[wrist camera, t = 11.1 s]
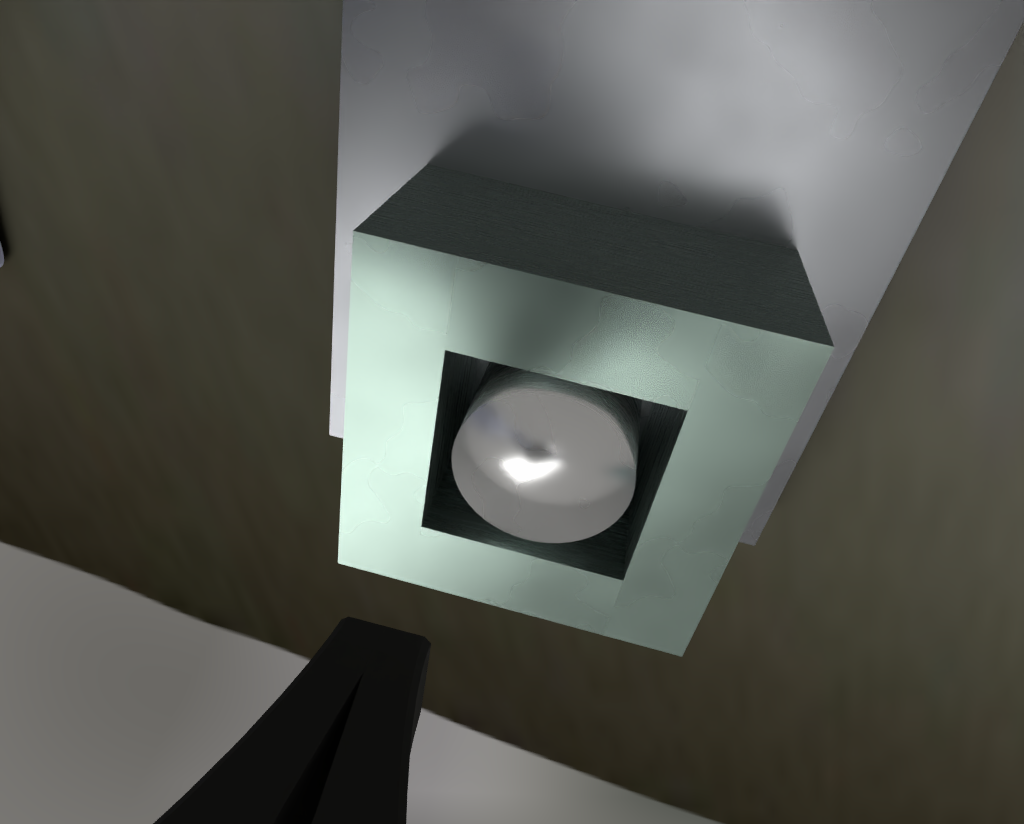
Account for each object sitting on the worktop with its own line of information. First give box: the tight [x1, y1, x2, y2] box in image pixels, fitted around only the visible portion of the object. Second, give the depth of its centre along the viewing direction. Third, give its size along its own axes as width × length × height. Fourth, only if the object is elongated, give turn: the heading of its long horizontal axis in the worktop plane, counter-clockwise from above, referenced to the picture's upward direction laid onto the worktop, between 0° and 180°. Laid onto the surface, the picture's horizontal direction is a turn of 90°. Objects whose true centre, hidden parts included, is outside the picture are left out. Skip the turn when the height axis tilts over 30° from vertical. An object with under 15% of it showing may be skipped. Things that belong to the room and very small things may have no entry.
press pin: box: [451, 361, 642, 543], centre depth 16 cm, size 4×4×4 cm
